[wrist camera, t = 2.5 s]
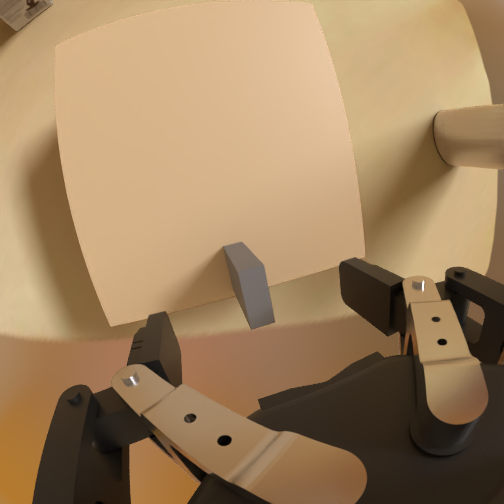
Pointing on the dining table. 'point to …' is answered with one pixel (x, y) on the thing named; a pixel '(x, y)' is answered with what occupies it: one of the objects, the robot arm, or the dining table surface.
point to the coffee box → (21, 11)
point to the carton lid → (205, 156)
